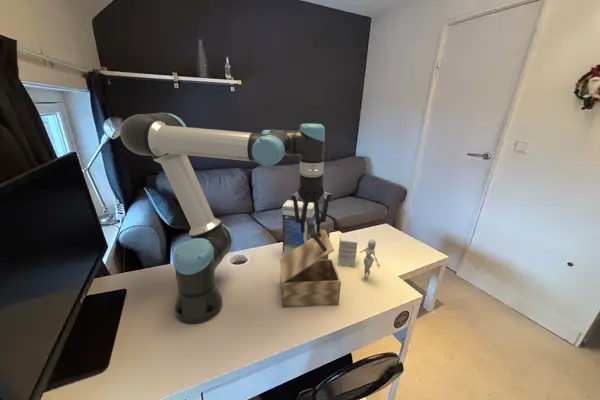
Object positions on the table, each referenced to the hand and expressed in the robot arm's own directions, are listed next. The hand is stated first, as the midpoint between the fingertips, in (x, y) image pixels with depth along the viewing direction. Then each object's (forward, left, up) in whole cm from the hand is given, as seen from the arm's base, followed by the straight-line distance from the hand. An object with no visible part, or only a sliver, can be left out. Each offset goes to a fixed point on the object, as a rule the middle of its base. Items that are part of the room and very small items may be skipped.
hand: (309, 240), depth 95 cm
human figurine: (+25, +7, -22) cm, 35 cm away
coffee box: (+7, +19, -22) cm, 30 cm away
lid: (-1, 0, -6) cm, 6 cm away
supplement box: (+20, +20, -23) cm, 36 cm away
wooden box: (0, 0, -22) cm, 22 cm away
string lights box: (-1, +26, -22) cm, 34 cm away
